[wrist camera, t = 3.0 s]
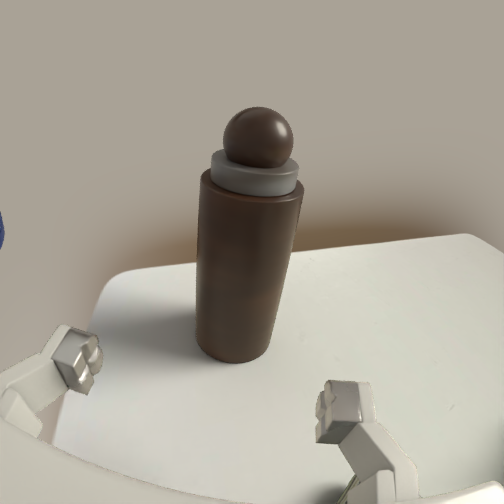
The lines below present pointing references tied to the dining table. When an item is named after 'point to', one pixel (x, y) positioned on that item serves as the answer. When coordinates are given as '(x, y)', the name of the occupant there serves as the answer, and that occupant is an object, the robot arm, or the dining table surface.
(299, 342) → the dining table surface
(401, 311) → the dining table surface
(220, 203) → the pepper mill
